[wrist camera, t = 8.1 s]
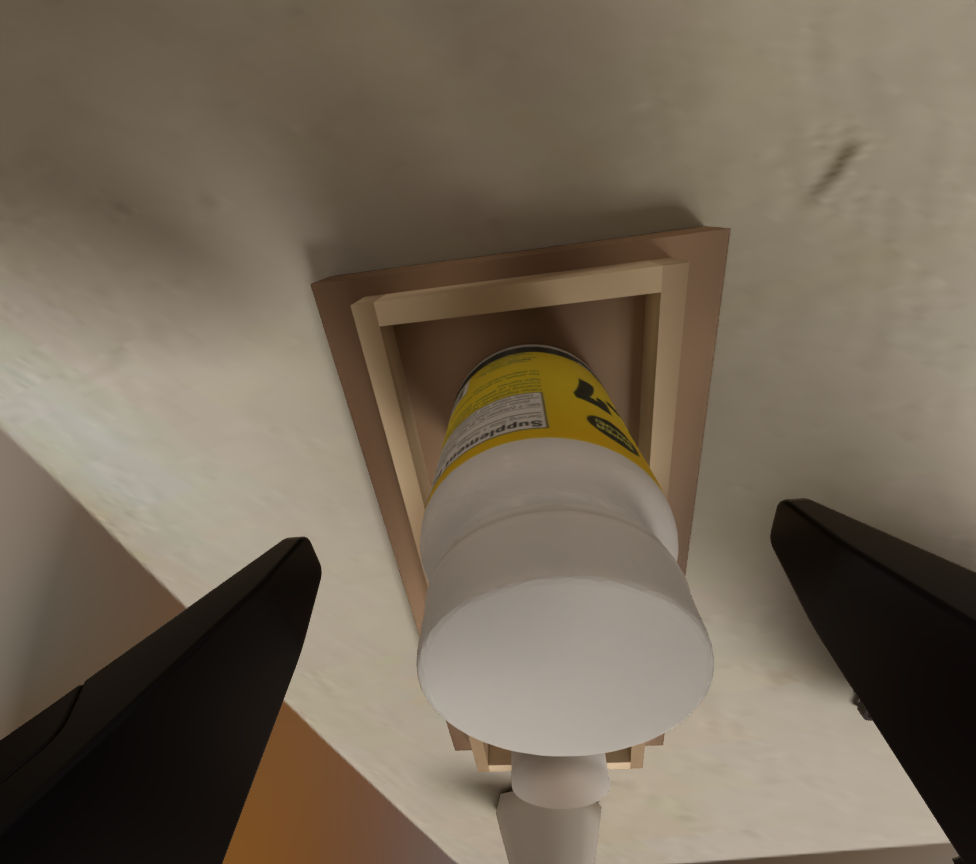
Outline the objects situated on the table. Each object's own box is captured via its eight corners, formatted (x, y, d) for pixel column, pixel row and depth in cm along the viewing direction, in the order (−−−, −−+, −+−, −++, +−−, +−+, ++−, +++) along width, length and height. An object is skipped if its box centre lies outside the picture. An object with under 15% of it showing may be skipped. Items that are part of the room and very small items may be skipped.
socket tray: (704, 226, 12) (825, 236, 7) (653, 714, 23) (689, 834, 19) (330, 276, 13) (237, 311, 8) (458, 720, 24) (447, 835, 20)
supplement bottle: (628, 443, 13) (782, 736, 6) (498, 497, 15) (490, 796, 7) (569, 309, 11) (689, 491, 4) (425, 383, 13) (310, 630, 5)
